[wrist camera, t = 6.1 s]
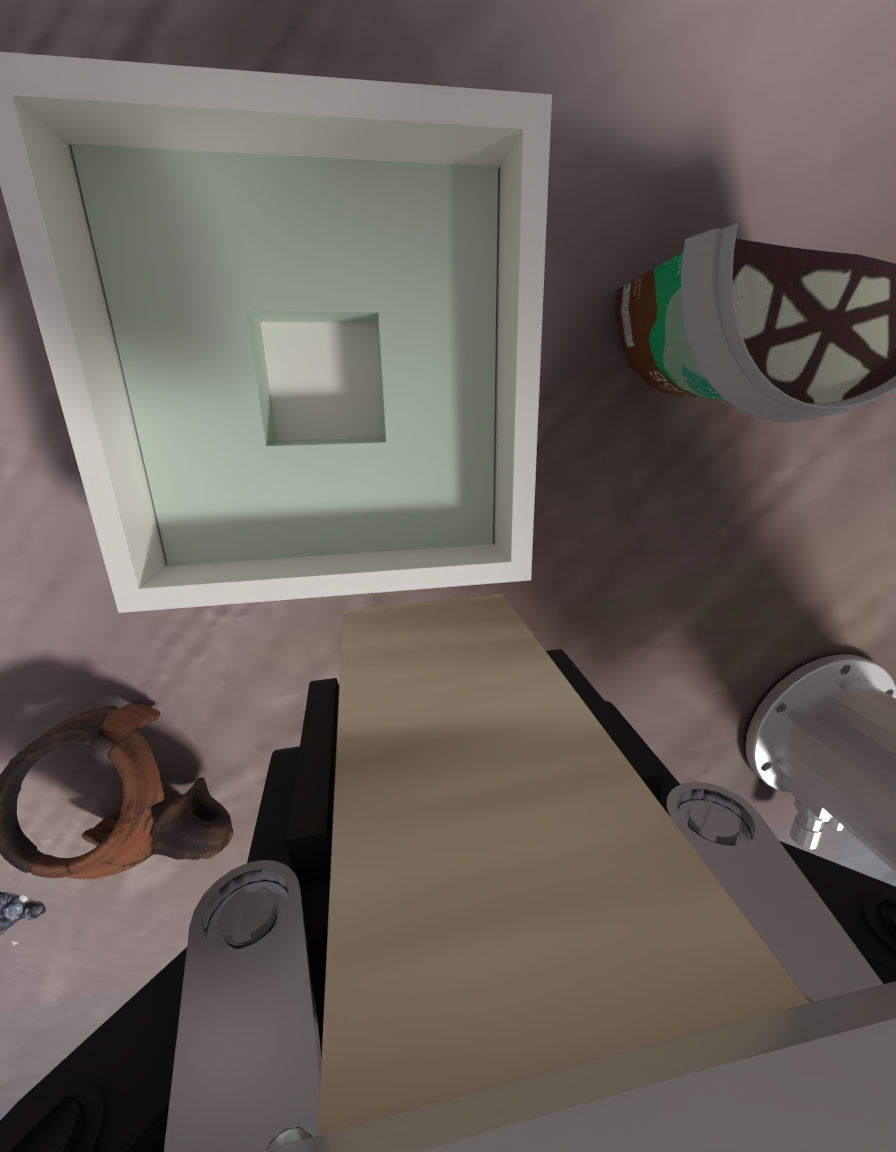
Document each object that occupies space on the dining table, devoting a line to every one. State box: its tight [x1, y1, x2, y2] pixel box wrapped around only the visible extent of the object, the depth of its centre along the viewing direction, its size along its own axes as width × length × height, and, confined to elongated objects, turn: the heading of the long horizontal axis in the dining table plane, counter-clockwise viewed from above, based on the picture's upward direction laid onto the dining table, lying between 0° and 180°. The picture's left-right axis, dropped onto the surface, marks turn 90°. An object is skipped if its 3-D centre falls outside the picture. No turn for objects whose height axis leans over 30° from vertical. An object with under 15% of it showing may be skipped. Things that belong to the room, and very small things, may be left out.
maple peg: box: [318, 594, 809, 1136], centre depth 8 cm, size 4×4×10 cm
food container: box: [616, 223, 896, 422], centre depth 23 cm, size 12×6×10 cm, turn 86°
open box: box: [0, 52, 552, 613], centre depth 22 cm, size 18×18×7 cm
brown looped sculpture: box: [0, 704, 233, 879], centre depth 29 cm, size 12×10×8 cm
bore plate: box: [71, 144, 498, 566], centre depth 23 cm, size 16×16×3 cm
